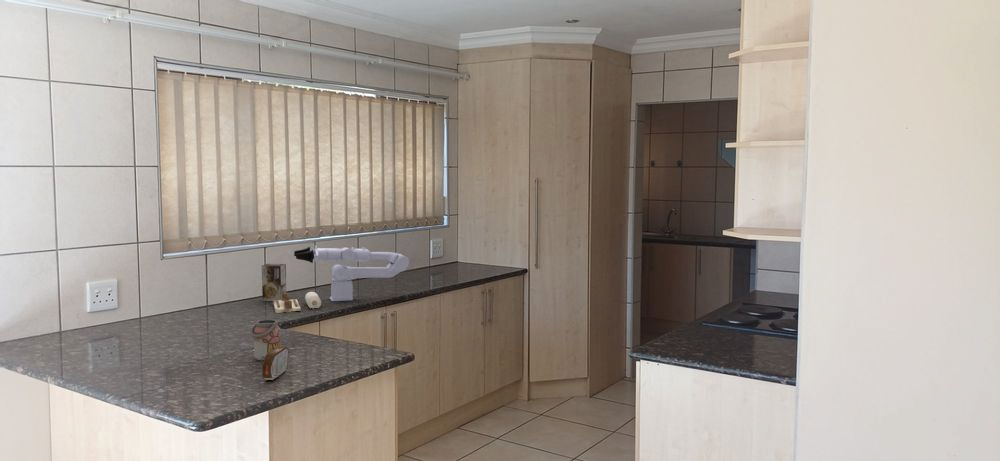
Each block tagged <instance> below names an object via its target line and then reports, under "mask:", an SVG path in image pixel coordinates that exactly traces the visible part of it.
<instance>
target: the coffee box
mask: <svg viewBox="0 0 1000 461" xmlns="http://www.w3.org/2000/svg"><path fill="white" fill-rule="evenodd" d="M286 267H287V266H286V263H265V264H263V265H261V285H262V287H261V288H262V289H261V291H262V292H261V293H262V295H261V296H262V298H261V299H262V301H263V302H273V300H282V294H287V272H286V271H287V268H286Z"/></svg>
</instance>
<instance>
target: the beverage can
mask: <svg viewBox="0 0 1000 461" xmlns="http://www.w3.org/2000/svg"><path fill="white" fill-rule="evenodd" d="M278 323H279V322H278V320H277V319H270V318H269V319H258V320H257V321H256V322H255V324H254V325H253V326H252V327H251V328H250V332H249V335H250V336H251V337H252V338H253V357H254V359H255V358H256V359H264V358H265V356H266V354H267V353H268V352H269V351H271V350H273V349H274V348H276V347H277V346H281V328H280V326H279V325H278Z"/></svg>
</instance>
